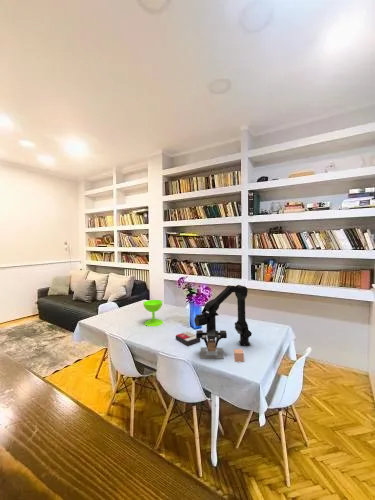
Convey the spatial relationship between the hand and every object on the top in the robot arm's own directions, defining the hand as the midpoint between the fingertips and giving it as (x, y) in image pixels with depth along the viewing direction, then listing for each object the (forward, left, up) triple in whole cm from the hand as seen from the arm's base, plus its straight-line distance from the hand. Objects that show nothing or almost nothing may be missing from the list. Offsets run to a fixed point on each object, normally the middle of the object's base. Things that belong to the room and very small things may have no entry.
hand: (211, 347), depth 155 cm
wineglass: (-52, -49, -4) cm, 72 cm away
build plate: (0, 0, -4) cm, 4 cm away
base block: (0, 0, -1) cm, 1 cm away
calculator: (-18, -17, -4) cm, 25 cm away
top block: (+7, +16, -4) cm, 18 cm away
